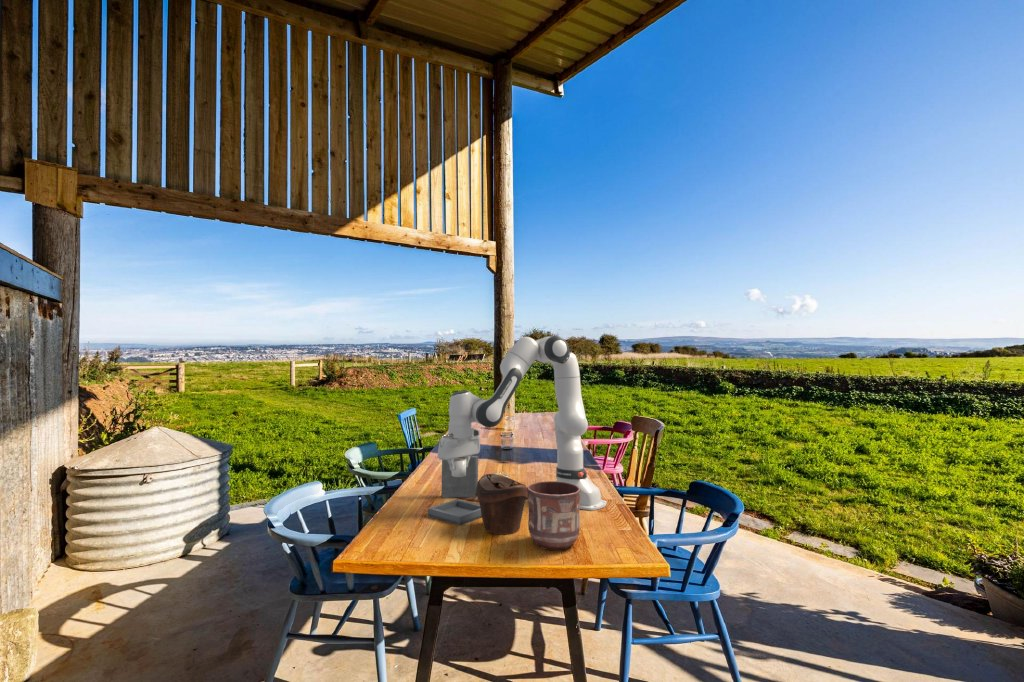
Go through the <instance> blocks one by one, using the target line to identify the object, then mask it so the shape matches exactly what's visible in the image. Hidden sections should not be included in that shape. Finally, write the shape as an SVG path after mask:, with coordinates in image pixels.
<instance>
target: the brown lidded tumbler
mask: <svg viewBox="0 0 1024 682" xmlns="http://www.w3.org/2000/svg"><path fill="white" fill-rule="evenodd" d="M527 487H528V486H527V485H526V484H524V483H521V482H518V481H516V480H515V479H512V478H509V477H507V476H504V475H500V474H498V473H486V474H484V475H482V476H481V477H479V478H478V483H477V487H476V490H475V496H477V497H476V498H477V500H478V504H479V505H480V509H481V514H482V524H483V530H484V531H486V532H487V533H489V534H494V535H511V534H516V533H517V532H518V531H520V528H521V522H522V520H523V519H522V518H523V513H524V508H525V504H526V500H528V493H527Z"/></svg>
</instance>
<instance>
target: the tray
mask: <svg viewBox="0 0 1024 682" xmlns="http://www.w3.org/2000/svg"><path fill="white" fill-rule="evenodd" d="M427 517H428V518H432V519H436V520H439V521H442V522H446V523H450V524H453V525H457V526H463V525H465V524H468V523H471V522H474V521H477V520H478V519H481V518H482V514H481V509H480V503H473V502H470V501H466V500H461V499H453V500H451V501H447V502H445V503H441V504H438V505H434V506H432V507H427Z"/></svg>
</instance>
